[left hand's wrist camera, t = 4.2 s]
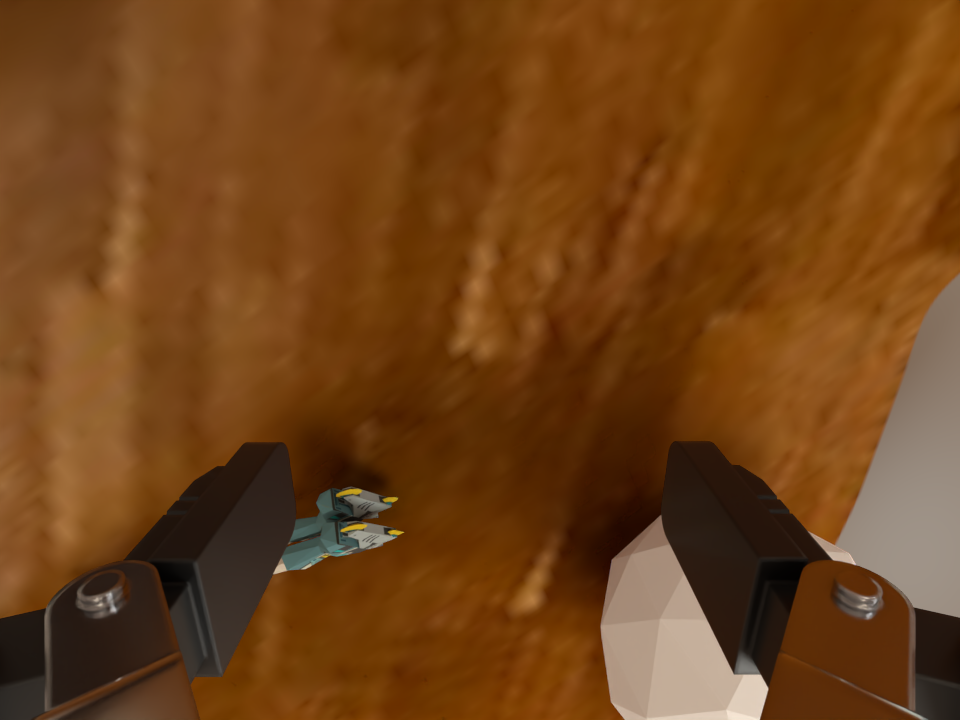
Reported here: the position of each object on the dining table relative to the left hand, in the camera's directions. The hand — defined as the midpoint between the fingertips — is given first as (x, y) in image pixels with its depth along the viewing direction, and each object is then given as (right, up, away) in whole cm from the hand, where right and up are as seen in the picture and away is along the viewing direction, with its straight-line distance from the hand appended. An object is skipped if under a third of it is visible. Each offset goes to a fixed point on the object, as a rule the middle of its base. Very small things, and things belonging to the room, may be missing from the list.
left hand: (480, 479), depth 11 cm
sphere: (+18, -14, +36) cm, 43 cm away
